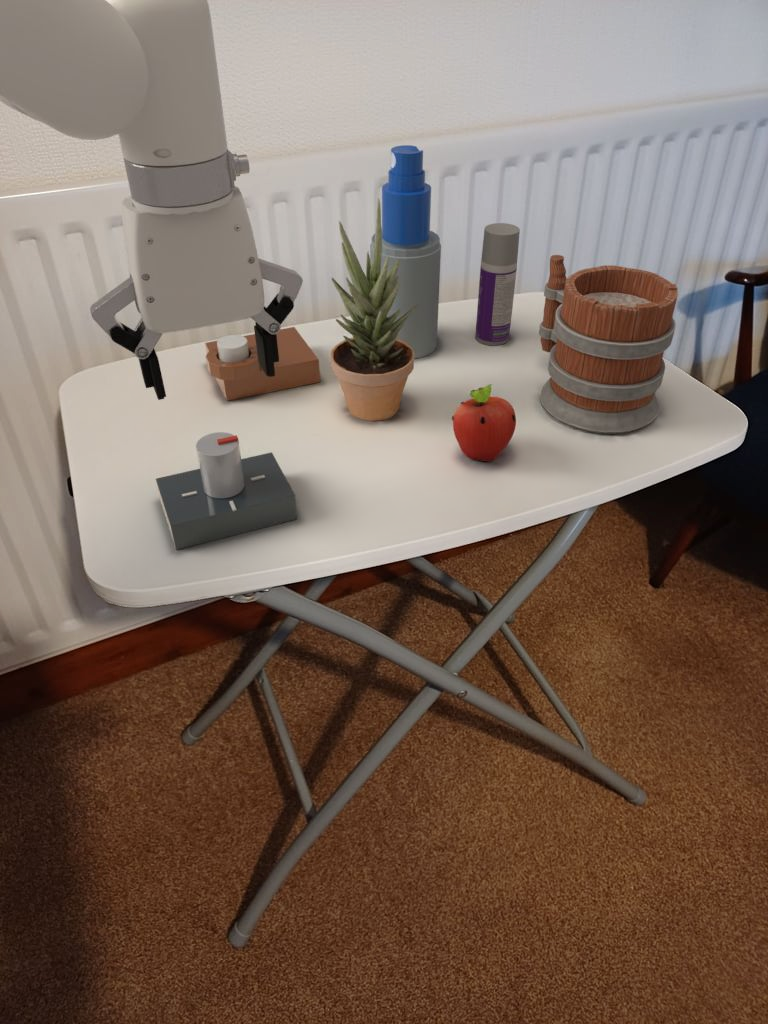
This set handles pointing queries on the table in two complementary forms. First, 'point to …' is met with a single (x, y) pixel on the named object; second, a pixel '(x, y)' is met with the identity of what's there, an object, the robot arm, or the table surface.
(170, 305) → the robot arm
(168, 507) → the panel
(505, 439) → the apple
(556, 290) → the mug
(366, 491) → the table surface
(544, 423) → the table surface
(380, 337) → the potted plant
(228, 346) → the white cylindrical plug
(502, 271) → the container
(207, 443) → the tap knob
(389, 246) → the spray bottle
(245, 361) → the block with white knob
